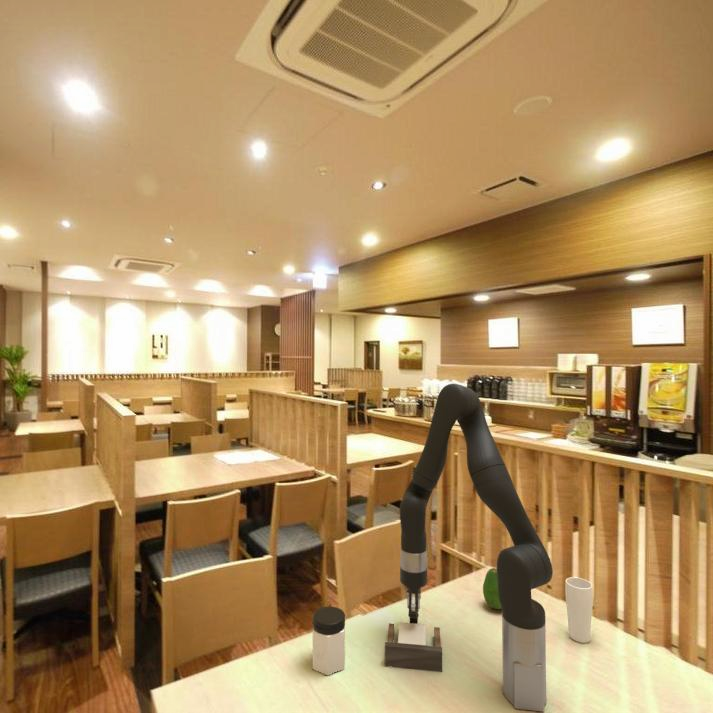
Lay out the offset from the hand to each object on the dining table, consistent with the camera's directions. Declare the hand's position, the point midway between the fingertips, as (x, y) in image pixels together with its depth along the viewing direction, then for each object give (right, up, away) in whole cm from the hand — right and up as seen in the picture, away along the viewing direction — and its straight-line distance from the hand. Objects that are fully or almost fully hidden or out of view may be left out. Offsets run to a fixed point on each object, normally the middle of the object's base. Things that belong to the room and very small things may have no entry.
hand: (413, 628), depth 120 cm
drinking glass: (+46, -2, -1) cm, 46 cm away
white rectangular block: (-1, -2, -7) cm, 7 cm away
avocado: (+27, -3, +14) cm, 31 cm away
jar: (-23, -2, -11) cm, 25 cm away
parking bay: (-1, -2, -6) cm, 7 cm away
